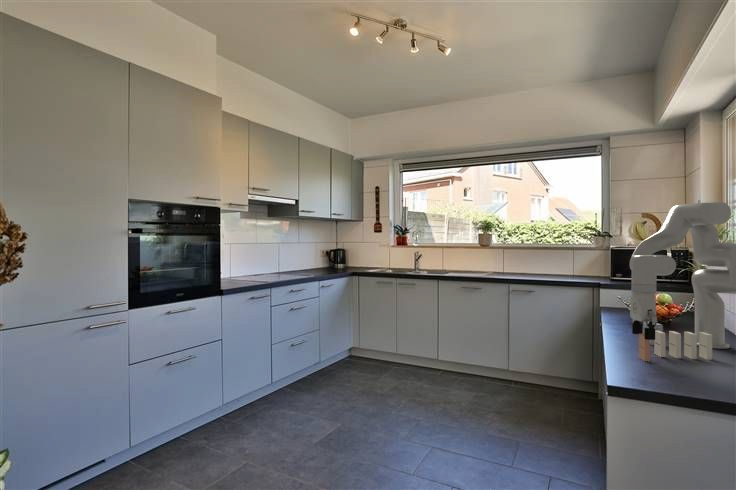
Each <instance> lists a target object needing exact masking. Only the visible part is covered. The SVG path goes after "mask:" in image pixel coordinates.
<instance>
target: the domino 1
mask: <svg viewBox="0 0 736 490" xmlns="http://www.w3.org/2000/svg"><path fill="white" fill-rule="evenodd" d="M638 359H640V360H641V359H642V361H643V362H645V361H646V363H648V362H649V363H650V362H651V344H650V340H646V339H644V334H643V333H642V334H638ZM647 361H648V362H647Z"/></svg>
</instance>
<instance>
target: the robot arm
mask: <svg viewBox="0 0 736 490" xmlns="http://www.w3.org/2000/svg"><path fill="white" fill-rule="evenodd" d="M731 216H732V209H731V207H730V205H729V204H728V203H726V202H724V201H716V202H715V201H714V202H697V203H696V202H695V203H682V204H678V205H677V204H676V205H674V206H671V208H670V209H669V211H668V212H667V214H666V216H665V218H664V220H663V222H662V223H661V226H660V227H659V230H658V231H657V232H655V233H654V234H652V235H650V236H648V237H647V238H646V239H644V240H643V241H641V242H640V243H639V244H638V245H637V246H636V247H635V249H634V251H633V253H632V255H631V256H630V257H631V258H630V259H629V269H630V270H631V282H630V283H631V289H630V290H631V291H630V292H631V296H630V305H629V306H630V307H629V317H630V319H632V320H631V324H632V325H631V327H632V328H631V333H632V334H633V335H639V334H643V322H644V323H645V326H646V328H644V339H646V340H655V329H656V324H657V323H658V322H657V320H658V317H657V301H656V295H657V279H658V278H657V276H661V277H662V276H663V277H664V276H665V277H666V276H669V275H672V274H673V273H674V272H675V270H676V268H677V263H676V260H675V259H674V258H673V257H672V256H669V255H665V254H655V253H657V252H659V251H662V250H666V249H670V248H673V247H676V246H678V245H680V244H681V243H683V242H684V240H685V237H686V236H687V234H688V232H690V235H691V240H692V241H691V243H692V252H693V258H694V262H695V264H696V265H699V266H701V267H702V266H703V267H720V268H721V267H722V268H727V269H718V268H702V269H697V270H695V271H693V273H692V275H691V285H692V290H693V295H694V334H696V346H698V347H699V332H705V333H708V334H711V335H712V349H718V350H720V349H721V350H723V349H724V350H725V349H726V350H727V349H730V348H731V345H730V344H729V343H727V342H726V341H725V339H726V336H725V335H726V333H725V332H726V331H725V325H726V324H725V320H726V319H725V318H726V317H725V316H726V315H725V312H726V311H725V309H726V308H725V306H726V305H725V303H724V300H723V298H722V297H721V296H720V295H719V294H728V295H729V294H730V295H736V243H734V242H728V243H727V242H721V241H720V236H719V231H718V228H717V227H716V226H715V225H723V224H725V223H727V222H728V221H729V220H730V219H731ZM648 322H649V324H648Z"/></svg>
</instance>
